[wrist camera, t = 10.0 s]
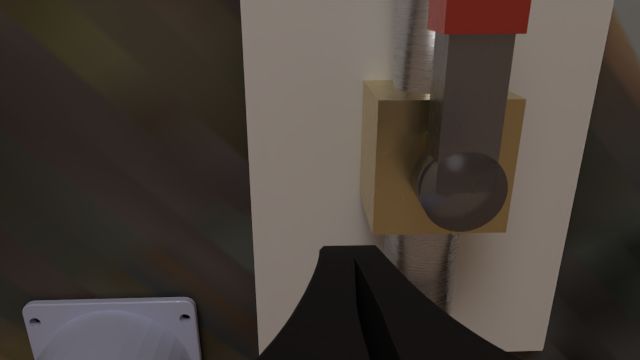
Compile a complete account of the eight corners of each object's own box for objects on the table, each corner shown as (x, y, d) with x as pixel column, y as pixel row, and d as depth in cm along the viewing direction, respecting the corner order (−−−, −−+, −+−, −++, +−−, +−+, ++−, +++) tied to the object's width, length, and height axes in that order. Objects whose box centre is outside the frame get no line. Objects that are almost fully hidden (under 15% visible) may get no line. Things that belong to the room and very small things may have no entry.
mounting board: (531, 334, 26) (542, 350, 24) (261, 342, 25) (259, 359, 24) (628, -170, 18) (651, -181, 16) (234, -176, 17) (230, -188, 16)
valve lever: (483, 209, 17) (504, 233, 15) (407, 211, 17) (420, 235, 15) (529, -145, 13) (563, -165, 11) (432, -146, 13) (452, -166, 11)
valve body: (452, 314, 24) (486, 383, 20) (354, 316, 24) (366, 387, 19) (503, -111, 17) (568, -143, 13) (368, -113, 17) (391, -146, 13)
